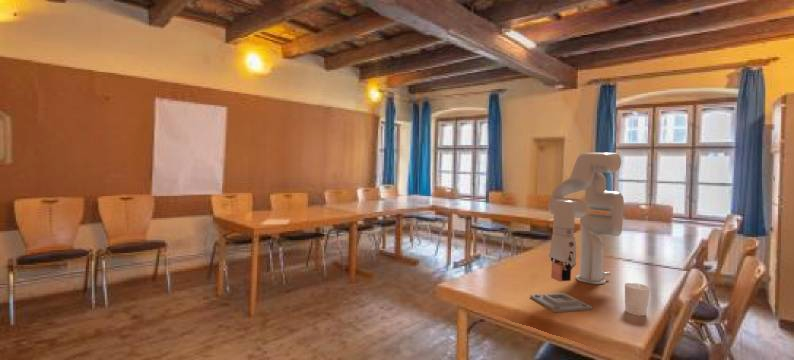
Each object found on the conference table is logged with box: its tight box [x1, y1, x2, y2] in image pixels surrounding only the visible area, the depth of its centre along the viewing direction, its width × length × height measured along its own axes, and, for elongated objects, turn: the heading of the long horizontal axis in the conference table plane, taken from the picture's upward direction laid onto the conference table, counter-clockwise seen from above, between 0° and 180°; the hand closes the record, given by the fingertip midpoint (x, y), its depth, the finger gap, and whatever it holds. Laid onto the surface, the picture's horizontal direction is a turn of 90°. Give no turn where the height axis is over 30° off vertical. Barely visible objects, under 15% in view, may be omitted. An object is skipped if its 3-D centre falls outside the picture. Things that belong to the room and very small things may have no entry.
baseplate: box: [529, 291, 593, 313], centre depth 155 cm, size 16×16×2 cm
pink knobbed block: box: [550, 261, 572, 282], centre depth 154 cm, size 5×5×7 cm
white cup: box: [624, 282, 651, 317], centre depth 146 cm, size 8×8×10 cm
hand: (561, 277), depth 154 cm, fingers closed on pink knobbed block, 5 cm apart
